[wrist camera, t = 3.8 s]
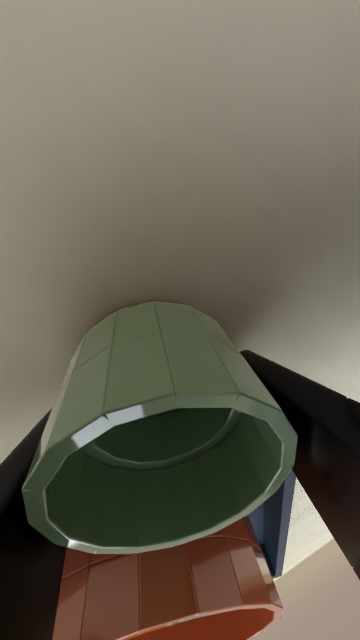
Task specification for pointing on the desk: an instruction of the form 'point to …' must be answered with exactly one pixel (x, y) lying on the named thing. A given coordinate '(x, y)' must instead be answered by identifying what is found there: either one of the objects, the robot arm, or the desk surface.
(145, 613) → the terracotta bowl
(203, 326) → the sage bowl
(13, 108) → the desk surface
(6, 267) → the desk surface
